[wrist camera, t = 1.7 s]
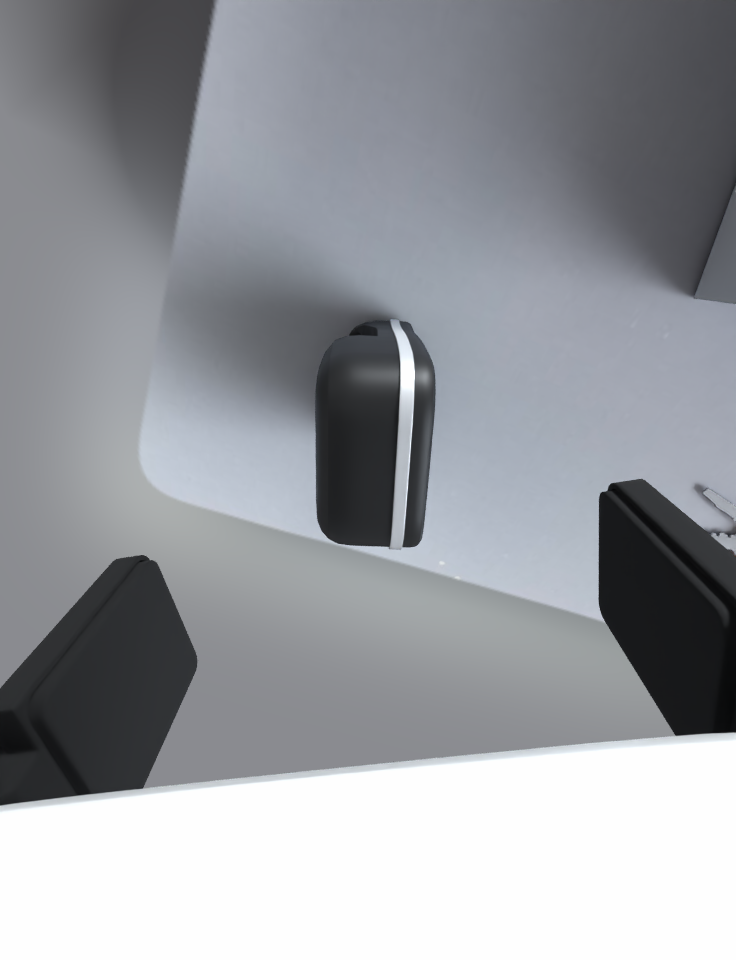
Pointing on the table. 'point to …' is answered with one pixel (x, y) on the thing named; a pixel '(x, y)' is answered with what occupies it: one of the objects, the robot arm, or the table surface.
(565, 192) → the table surface
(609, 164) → the table surface
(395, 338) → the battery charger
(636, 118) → the table surface
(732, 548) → the key chain
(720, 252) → the box
